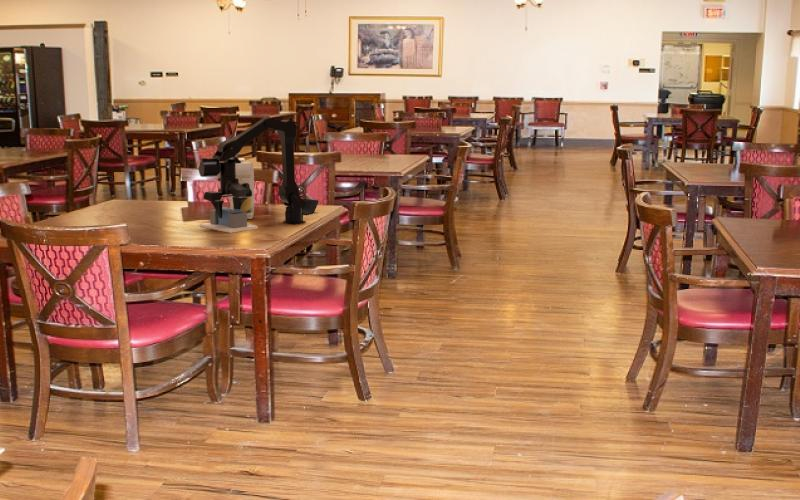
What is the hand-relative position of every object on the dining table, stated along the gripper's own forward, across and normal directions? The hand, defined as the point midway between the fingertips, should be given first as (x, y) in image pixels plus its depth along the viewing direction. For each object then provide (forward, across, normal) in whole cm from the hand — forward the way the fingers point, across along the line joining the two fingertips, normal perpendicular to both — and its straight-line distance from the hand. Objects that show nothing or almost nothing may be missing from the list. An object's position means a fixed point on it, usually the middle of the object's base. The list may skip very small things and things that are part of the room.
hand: (228, 217), depth 330 cm
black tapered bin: (+4, +45, +8) cm, 46 cm away
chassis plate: (+4, 0, 0) cm, 4 cm away
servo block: (+3, 0, 0) cm, 3 cm away
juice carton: (+4, +18, +14) cm, 23 cm away
